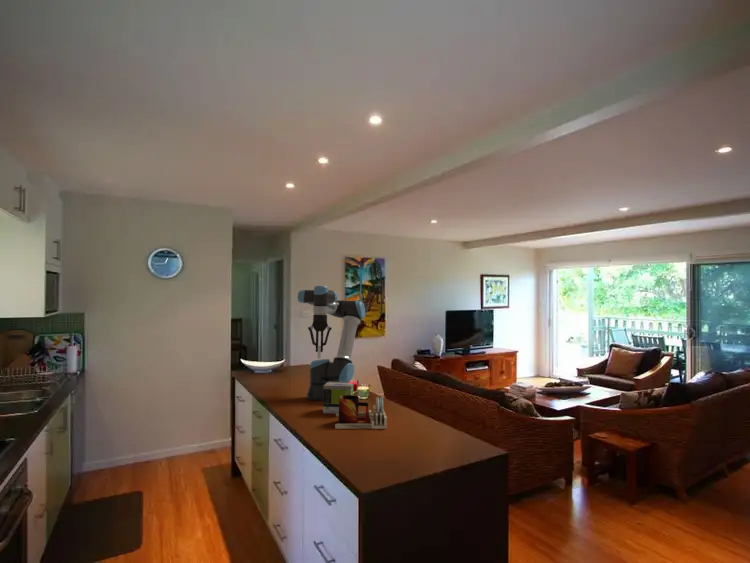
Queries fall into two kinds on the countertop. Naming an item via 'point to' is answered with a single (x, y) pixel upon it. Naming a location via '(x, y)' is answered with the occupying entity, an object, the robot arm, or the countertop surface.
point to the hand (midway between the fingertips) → (319, 358)
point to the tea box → (335, 395)
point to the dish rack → (376, 419)
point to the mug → (350, 409)
